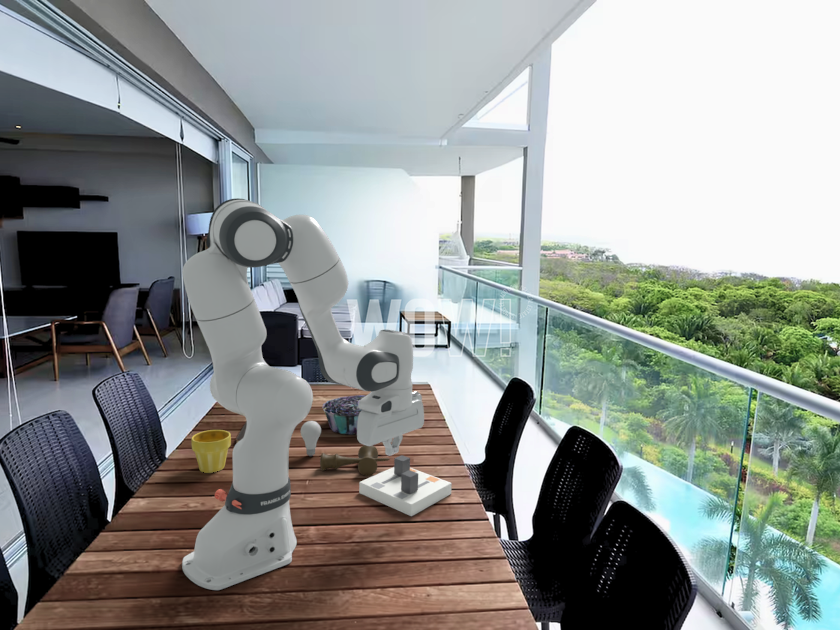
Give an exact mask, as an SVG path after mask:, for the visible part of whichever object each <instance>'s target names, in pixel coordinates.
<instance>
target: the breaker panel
mask: <svg viewBox="0 0 840 630" xmlns="http://www.w3.org/2000/svg"><path fill="white" fill-rule="evenodd" d="M410 471H413V472H416V473H418V490H417V491H415V492H413V493H411V494H408V493H406V492H404V491H401V476H398V475H396V474H394V466H393V467H390V468H389V469H386V470H383V471H380V472H379V473H377V474H375V475H374V474H373V475H371V476H370V477H368V478H366V479H363V480H362V481H359V483H358V485H359V487H358V488H359V489H358V490H359V492H358V493H359V494H360V495H363V496H365V497H367V498H368V499H369V498H370V499H372V500H374V501H376V502H378V503H381V504H383V505H385V506H386V507H387V506H388V507H390V508H392V509H394V510H397V511H398V512H401V513H403V514H405V515H408V516H409V517H413V516H415V515H417V514H418V513H420V512H422V511H424V510H425V509H427V508H429V507H430V506H433V505H434V504H436V503H437V502H439V501H441V500H443V499H444V498H446V497H448V496H449V495H451V494H452V482H450V481H448V480H445V479H442V478H439V477H436V476H434V475H432V474H428V473H426V472H423V471H420V470H418V469H415V468H413V467H410Z"/></svg>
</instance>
